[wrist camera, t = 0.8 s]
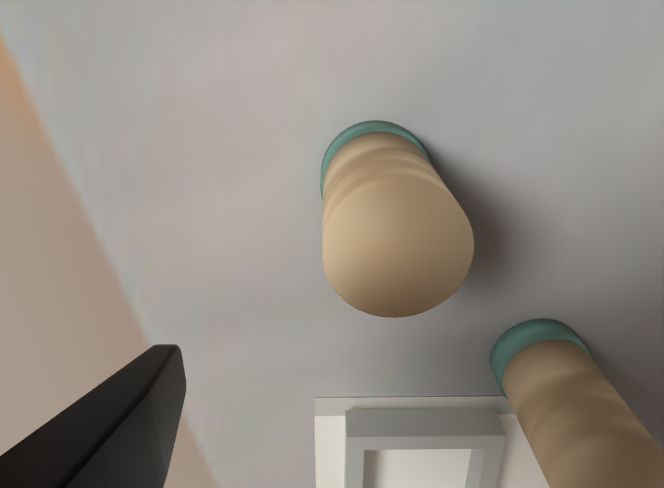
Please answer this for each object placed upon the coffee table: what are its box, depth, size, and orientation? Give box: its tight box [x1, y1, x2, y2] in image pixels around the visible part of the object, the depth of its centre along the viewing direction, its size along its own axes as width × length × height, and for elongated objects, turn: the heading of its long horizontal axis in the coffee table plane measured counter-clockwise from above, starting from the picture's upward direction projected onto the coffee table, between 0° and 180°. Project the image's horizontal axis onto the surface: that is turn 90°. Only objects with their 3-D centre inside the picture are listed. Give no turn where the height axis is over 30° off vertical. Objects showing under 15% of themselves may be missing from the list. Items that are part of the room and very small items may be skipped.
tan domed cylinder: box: [490, 319, 664, 488], centre depth 20 cm, size 4×4×7 cm
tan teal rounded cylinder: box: [321, 120, 474, 318], centre depth 16 cm, size 4×4×7 cm
